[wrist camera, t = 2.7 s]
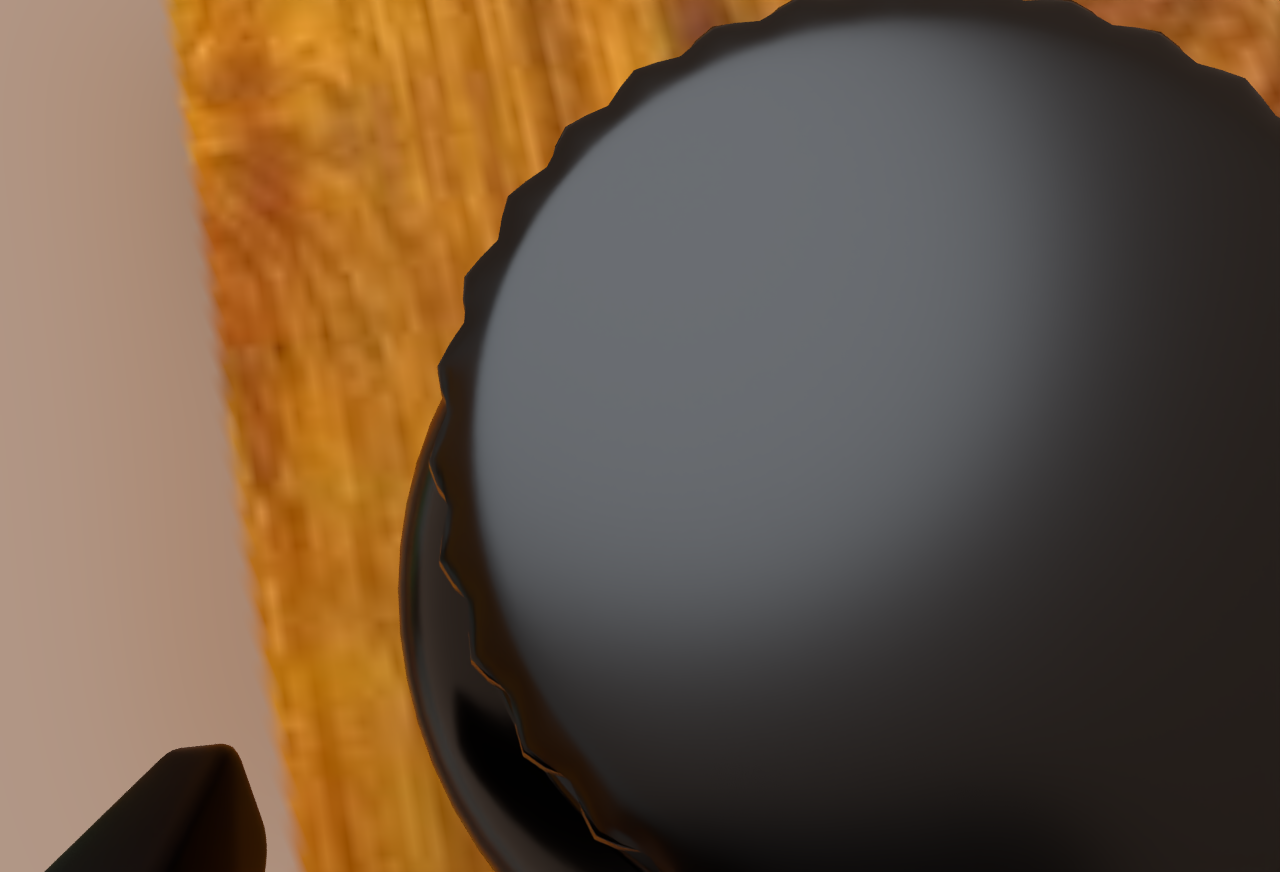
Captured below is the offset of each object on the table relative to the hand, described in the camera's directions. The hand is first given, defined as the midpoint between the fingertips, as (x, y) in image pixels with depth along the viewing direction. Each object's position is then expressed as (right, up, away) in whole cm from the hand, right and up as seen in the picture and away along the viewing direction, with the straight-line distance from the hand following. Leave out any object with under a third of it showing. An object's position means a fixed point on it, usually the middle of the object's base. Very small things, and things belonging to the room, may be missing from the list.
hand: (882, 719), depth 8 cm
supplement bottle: (0, -1, +9) cm, 9 cm away
